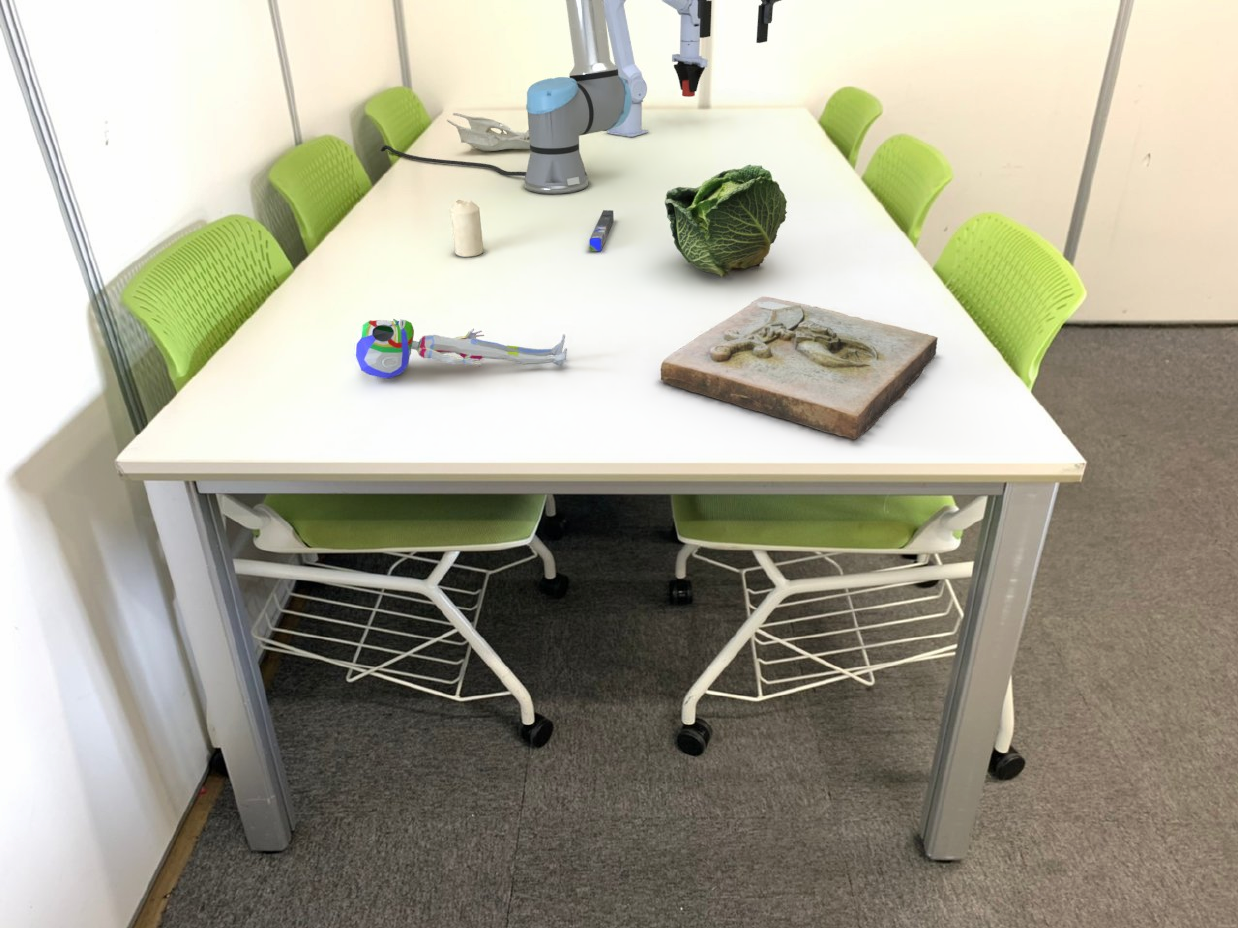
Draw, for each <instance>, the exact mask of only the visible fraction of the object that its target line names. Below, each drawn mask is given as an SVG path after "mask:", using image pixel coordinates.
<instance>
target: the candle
mask: <svg viewBox="0 0 1238 928" xmlns="http://www.w3.org/2000/svg"><path fill="white" fill-rule="evenodd" d="M449 212H450V213H449V214H450V222H451V228H452V231H451V232H452V239H453V247H454V253H455V255H457V256H459V257H465V258H466V257H467V258H468V257H475V256H479V255H481V254H483V252H484V242H483V234H482V233H483V232H482V231H483V230H482V222H481V221H482V220H481V212H480V207H479V205H478V204H476V203H475V202H474V201H472V200H470V201H468V200H465V199H464V200H462V199H457V200H456V201H455V202H454V203H453V205H452V206H451V207H450V209H449Z"/></svg>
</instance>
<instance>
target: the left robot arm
mask: <svg viewBox="0 0 1238 928" xmlns="http://www.w3.org/2000/svg"><path fill="white" fill-rule="evenodd" d="M697 1H698V14H697V16H698V19H700V39H704V38H709V37H711V32H712V31H711V30H712V29H711V28H712V6H713V5H712V3H713V0H697ZM760 1H761V3H760V4H759V5H758V10H757V25H756V44H762V43H767V42H768V37H769V36H768V35H769V24H771V23H772V21H773V14H774V13H773V11H774V5H775V4H776V3H778V2H781V1H782V0H760ZM565 6H566V13H567V20H568V29H569V37H570V43H571V50H572V58H573V67H572V69H571V71H570V72H569V74H568V77H567V76H557V77H554V78H551V77H550V78H545V79H542V80H538V81H536V82H534V83H532V84H531V85H530V86H529V87H528V89H527V91H526V105H525V106H526V107H525V108H526V112H527V125H528V130H529V142H530V149H529V157H528V162H527V168H526V171H510V170H509V171H508V170H504V169H502V168H501V167H498V166H496V165H494V164H488V163H483V162H474V161H473V162H471V161H462V160H450V159H438V158H432V157H431V158H430V157H424V156H423V157H422V156H419V155H414V154H413V155H412V154H408V153H405V152H402V151H399V150H396V149H394V148H393V147H392V146H390V145H387V144H385V145H383V146H382V147H381V149H380V152H385V151H386V150H388V151H389V152H391V153H392V154H394V155H397V156H400V157H403V158H405V159H409V160H415V161H420V162H426V163H434V164H443V165H444V164H445V165H456V166H466V167H467V166H468V167H478V168H484V169H490V170H492V171H493V170H494V171H496V172H497V173H499V174H501V175H505V176H508V177H509V176H511V177H512V176H513V177H515V176H516V177H518V176H520V177H524V178H523V179H524V180H523V183H524V188H525V189H526V190H527V191H530V192H531V193H535V194H536V193H537V194H543V195H544V194H545V195H562V194H570V193H576V192H579V191H583V190H584V189H586V188H587V187H589V175H588V173H587V171H586V168H585V164H584V161H583V158H582V156H581V153H580V136H581V137H582V136H585V135H590V134H594V133H599V132H607V131H609V130H610V129H612V128H616V127H618V126H620V125H621V124H623V123H624V121H625V120H626V118H627V117H628V115H629V112H630V109H631V91H630V88H629V86H628V85H627V84H626V81H625V80H624V79H623V78H622V77H620V76H619V74H618V67H616V66H615V63H613V62H612V60H611V54H610V44H609V34H608V27H607V23H606V18H605V10H604V1H603V0H565Z"/></svg>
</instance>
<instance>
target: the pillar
mask: <svg viewBox="0 0 1238 928" xmlns="http://www.w3.org/2000/svg"><path fill="white" fill-rule="evenodd" d="M614 216H615V215H614V210H613V209H612V210H611V209H602V212H601V214H600V216H599V219H598V221H597V222H596V225H595V227H594V229H593V231H592V234H591V236H590V237H589V241H588V243H589V244H588V245H589V246H588V247H589V248H588V250H589V252H601V251H602V249H603V247H604V245H605V242H606V239H607V237H608V235H609V232H610V231H611V228H612V226H613V223H614Z"/></svg>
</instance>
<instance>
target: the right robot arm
mask: <svg viewBox="0 0 1238 928" xmlns="http://www.w3.org/2000/svg"><path fill="white" fill-rule="evenodd" d="M603 1H604V10H605V18H606V27H607V33H608V38H609V41H610V47H611V52H612V56H613V60H614V65H615V66H616V67H618V74H619V76H620V77H622V78H623V79H624V80H625V81H626V84H627V85H628V86H629V88H630V91H631V109H630V112H629V115H628V117H627V118H626V120H625V121H624V123H623V124H621V125H620V126H618V127H616V128H612V129H610V130H608V131H606V133H607V134H609V135H610V134H611V135H615V136H622V137H628V138H634V137H636V136H641V135H644V134H647V133H649V130H645V129H643V121H642V120H643V108H642V107H643V103H644V99H645V98H646V96H647V93H648V85H647V82H646V81H645V79H644V77H643V72H642V71H641V70H640V68H639V67H638V66H637V64H636V62H635V57H634V52H633V46H632V42H631V37H630V36H631V35H630V32H629V26H628V20H627V15H626V11H625V3H626V1H627V0H603ZM661 2H663V3H664V4H666V5H668V6H669V7H671V8H673V9H674V10H676V12H677V14H678V15H679V16H680V28H679V29H680V36H679V37H680V38H679V53H674V54H671V62H673V63H675V64H673V68H674V70H675V72H676V75H677V79H678V82H679V88H680V90H681V91H682V81H683V80H689V91H690V92H695V93H696V92H697V90H698V87H699V83H700V80H701V77H702V75H703V73H704V71H705V70H706V68H707V67H708V59H707V58H703V56H702V55H700V52H701V51H700V47H701V45H700V44H701V38H700V19H698V16H697V14H698V1H697V0H661Z"/></svg>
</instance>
